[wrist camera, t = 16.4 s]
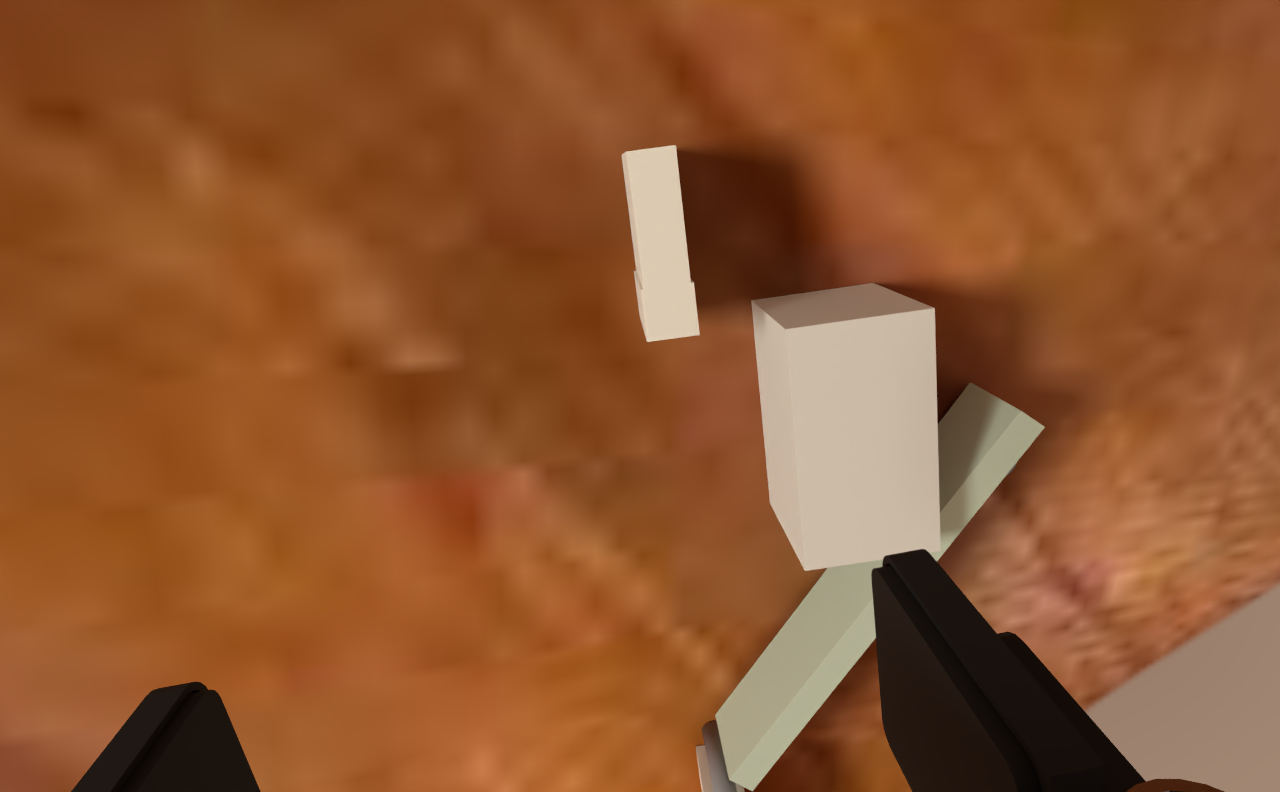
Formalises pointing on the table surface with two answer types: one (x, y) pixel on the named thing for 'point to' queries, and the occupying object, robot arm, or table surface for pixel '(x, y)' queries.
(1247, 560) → the table surface
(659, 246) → the notched cream block
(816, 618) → the door
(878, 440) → the block
